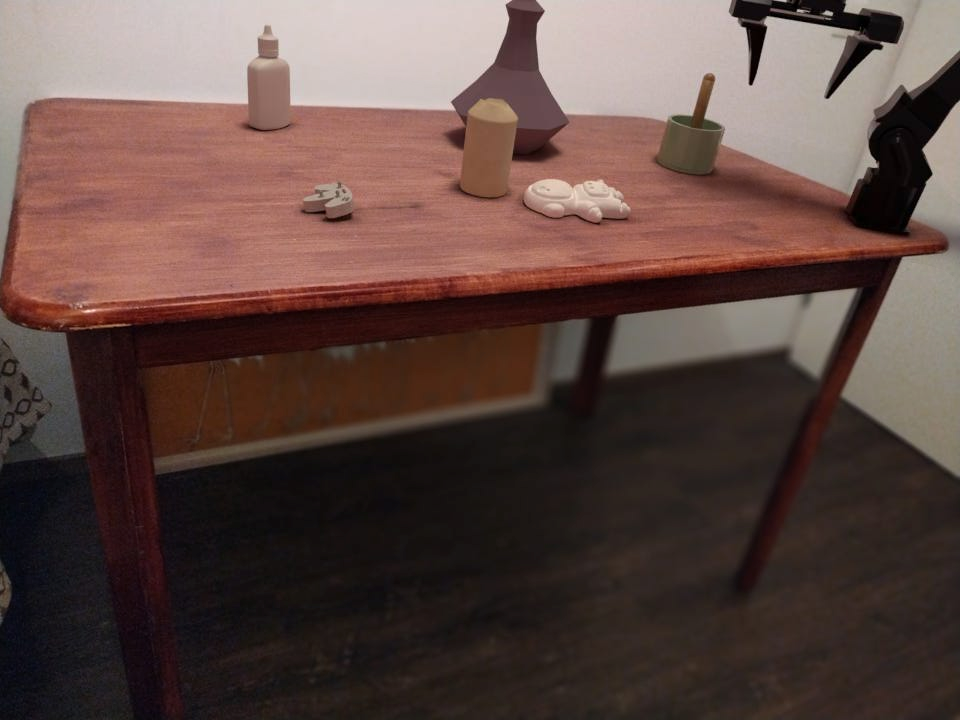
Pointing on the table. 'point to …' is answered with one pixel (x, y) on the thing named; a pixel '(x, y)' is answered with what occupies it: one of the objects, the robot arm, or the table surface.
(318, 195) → the game controller
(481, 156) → the candle
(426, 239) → the table surface
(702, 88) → the brush
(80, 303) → the table surface
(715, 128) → the scrub cup
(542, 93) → the purple faceted vase
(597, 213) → the astronaut figurine
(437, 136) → the table surface
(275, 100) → the eye dropper bottle
